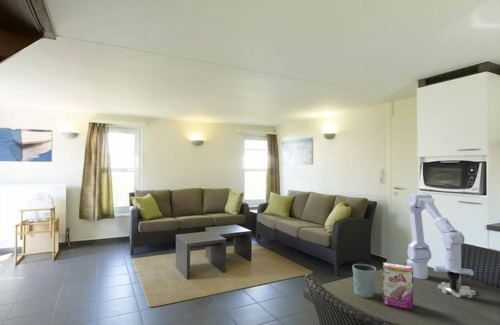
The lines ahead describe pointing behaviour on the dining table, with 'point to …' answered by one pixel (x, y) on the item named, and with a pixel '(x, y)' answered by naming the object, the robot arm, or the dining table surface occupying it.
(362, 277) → the teal cup
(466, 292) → the sprocket
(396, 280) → the candy bar box
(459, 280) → the link block
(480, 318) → the dining table surface
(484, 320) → the dining table surface
